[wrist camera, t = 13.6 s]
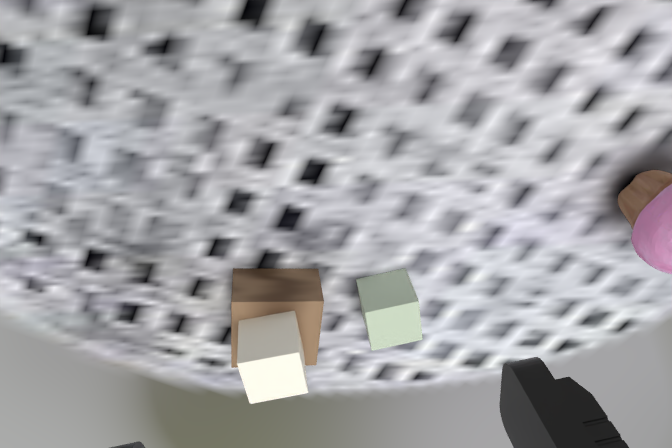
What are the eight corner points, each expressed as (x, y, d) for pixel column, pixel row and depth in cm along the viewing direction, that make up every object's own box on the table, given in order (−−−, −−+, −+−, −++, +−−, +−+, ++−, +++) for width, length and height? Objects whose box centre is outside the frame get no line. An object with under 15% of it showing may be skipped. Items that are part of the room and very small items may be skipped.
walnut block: (233, 329, 52) (231, 367, 48) (233, 267, 48) (231, 302, 43) (311, 328, 53) (316, 364, 49) (317, 267, 49) (323, 301, 45)
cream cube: (250, 359, 47) (250, 403, 43) (238, 320, 45) (236, 363, 41) (303, 349, 48) (308, 392, 43) (294, 310, 45) (298, 352, 41)
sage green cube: (362, 315, 53) (371, 350, 49) (355, 278, 50) (365, 312, 46) (409, 304, 53) (422, 339, 49) (405, 267, 50) (418, 301, 46)
